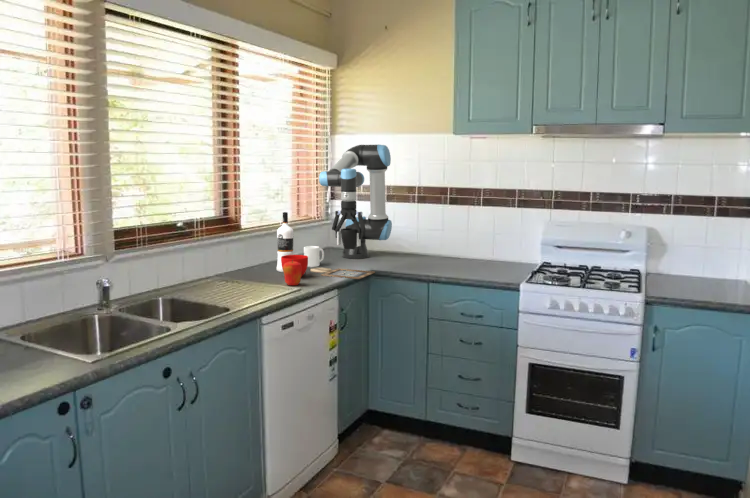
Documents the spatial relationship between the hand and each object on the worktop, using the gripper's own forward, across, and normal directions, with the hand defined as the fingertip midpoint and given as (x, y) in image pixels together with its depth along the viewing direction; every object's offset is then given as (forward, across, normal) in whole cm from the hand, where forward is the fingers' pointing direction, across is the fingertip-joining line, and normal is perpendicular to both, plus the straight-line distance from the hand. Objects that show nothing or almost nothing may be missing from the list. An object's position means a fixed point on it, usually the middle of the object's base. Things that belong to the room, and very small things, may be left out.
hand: (348, 245), depth 309 cm
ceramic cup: (+14, -20, -18) cm, 30 cm away
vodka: (+15, -32, -8) cm, 36 cm away
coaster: (+14, -16, +1) cm, 22 cm away
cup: (+15, -27, +13) cm, 34 cm away
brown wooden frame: (+14, 0, -1) cm, 14 cm away
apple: (+14, -11, -36) cm, 40 cm away
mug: (+2, -1, 0) cm, 2 cm away
